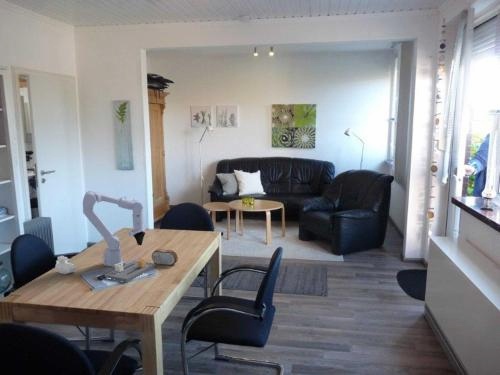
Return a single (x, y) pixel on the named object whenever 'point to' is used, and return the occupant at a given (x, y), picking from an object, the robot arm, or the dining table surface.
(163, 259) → the tin
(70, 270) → the white irregular lump
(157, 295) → the dining table surface
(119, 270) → the pale fader
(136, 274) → the fader board
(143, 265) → the block
